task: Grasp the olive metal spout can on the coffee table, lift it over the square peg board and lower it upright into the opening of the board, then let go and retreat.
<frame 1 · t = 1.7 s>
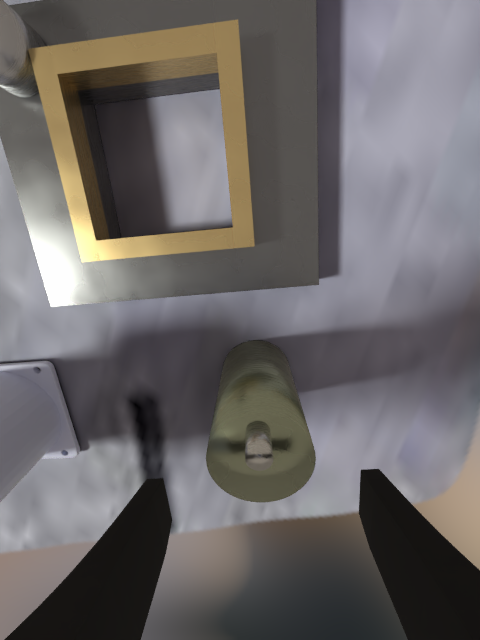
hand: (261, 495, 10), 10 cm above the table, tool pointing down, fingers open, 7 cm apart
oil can: (255, 371, 19), on the table
square peg board: (168, 169, 16), on the table
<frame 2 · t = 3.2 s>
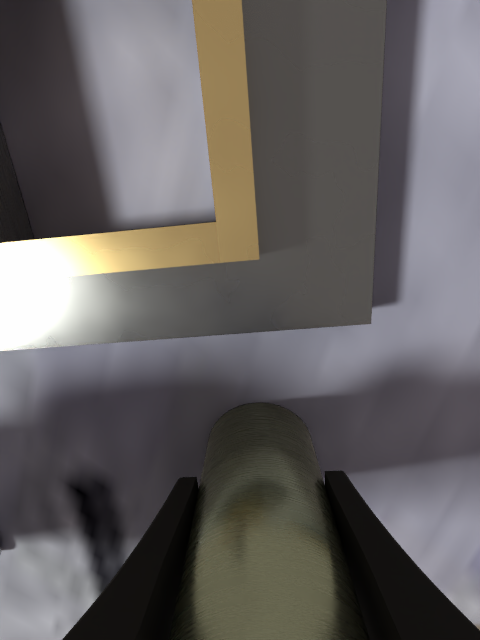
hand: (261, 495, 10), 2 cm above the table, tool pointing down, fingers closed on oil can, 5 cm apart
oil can: (259, 447, 13), on the table, touching gripper
square peg board: (106, 120, 9), on the table
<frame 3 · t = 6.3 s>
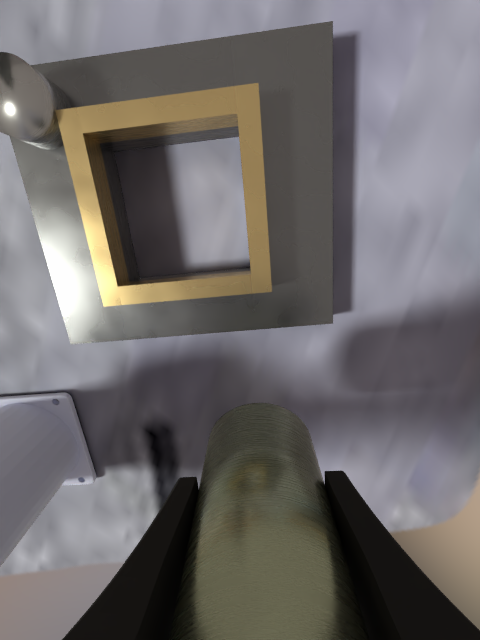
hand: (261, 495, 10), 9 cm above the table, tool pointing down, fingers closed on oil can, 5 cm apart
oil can: (259, 447, 13), point 7 cm above the table, touching gripper
square peg board: (185, 212, 16), on the table
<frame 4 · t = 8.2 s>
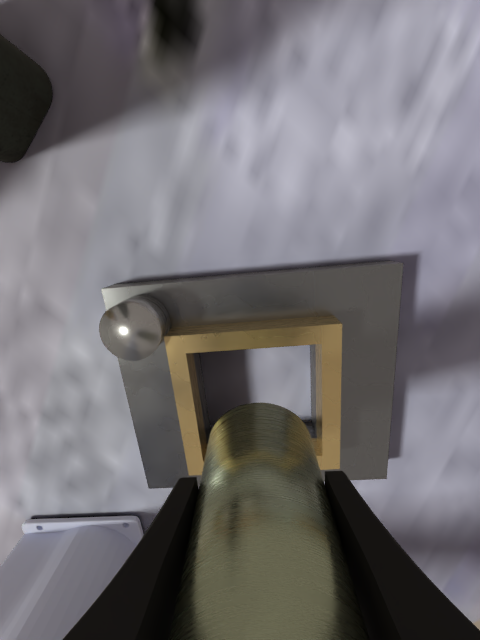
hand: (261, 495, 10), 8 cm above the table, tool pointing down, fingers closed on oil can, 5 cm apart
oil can: (259, 447, 13), point 6 cm above the table, touching gripper
square peg board: (256, 380, 18), on the table
when the fingers open (4 cm above the table, at t = 9.6 s): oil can drops 1 cm, resting in square peg board.
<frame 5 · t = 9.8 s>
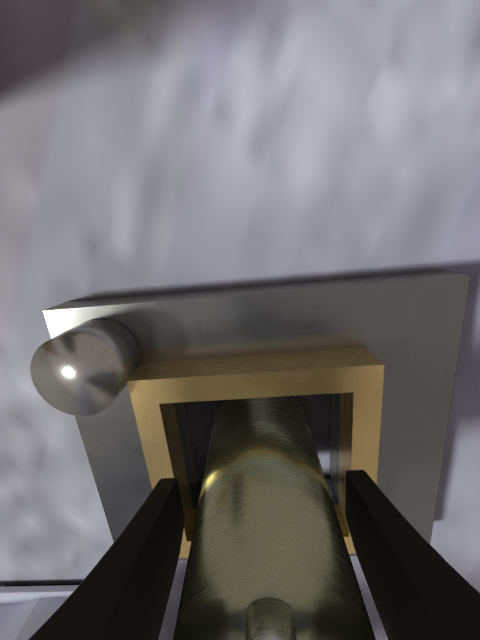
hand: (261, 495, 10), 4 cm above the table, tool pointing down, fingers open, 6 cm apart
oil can: (259, 425, 14), resting in square peg board
square peg board: (258, 425, 14), on the table
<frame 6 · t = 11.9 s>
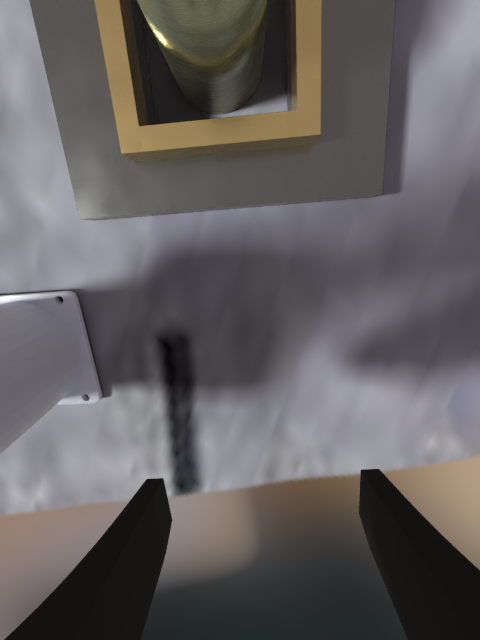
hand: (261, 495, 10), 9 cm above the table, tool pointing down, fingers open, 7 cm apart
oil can: (217, 60, 14), resting in square peg board
square peg board: (216, 60, 14), on the table
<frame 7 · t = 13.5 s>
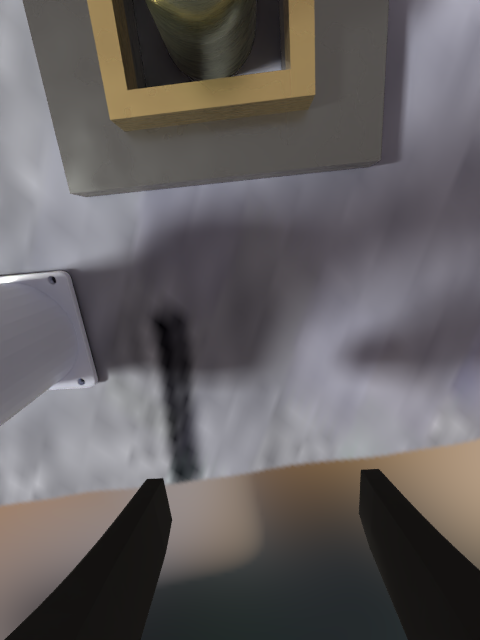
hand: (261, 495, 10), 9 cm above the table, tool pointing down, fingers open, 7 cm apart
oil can: (208, 26, 14), resting in square peg board
square peg board: (207, 25, 14), on the table
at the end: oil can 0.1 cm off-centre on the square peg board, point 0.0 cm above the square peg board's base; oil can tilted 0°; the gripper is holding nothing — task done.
